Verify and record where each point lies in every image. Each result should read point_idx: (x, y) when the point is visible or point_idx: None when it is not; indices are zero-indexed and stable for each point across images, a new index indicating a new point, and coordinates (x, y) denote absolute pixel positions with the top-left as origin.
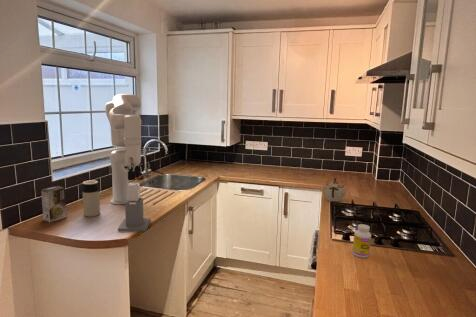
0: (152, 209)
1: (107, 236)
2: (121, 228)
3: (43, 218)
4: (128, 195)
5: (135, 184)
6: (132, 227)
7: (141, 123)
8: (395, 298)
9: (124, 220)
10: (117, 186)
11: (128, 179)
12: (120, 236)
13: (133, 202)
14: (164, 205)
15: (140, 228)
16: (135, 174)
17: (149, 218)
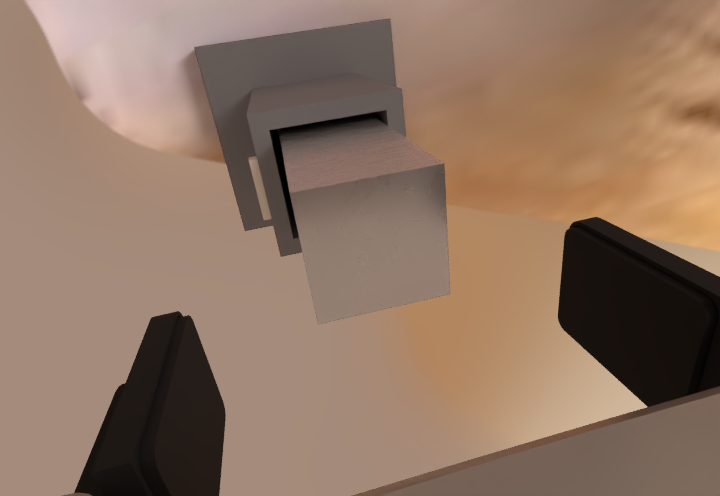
0: (596, 134)
1: (95, 2)
2: (203, 74)
3: None
4: (284, 155)
5: (348, 281)
6: (238, 144)
7: None
8: None
9: (352, 34)
10: None
11: (154, 324)
12: (127, 99)
13: (266, 197)
14: (656, 184)
15: (236, 199)
16: (569, 278)
17: None
